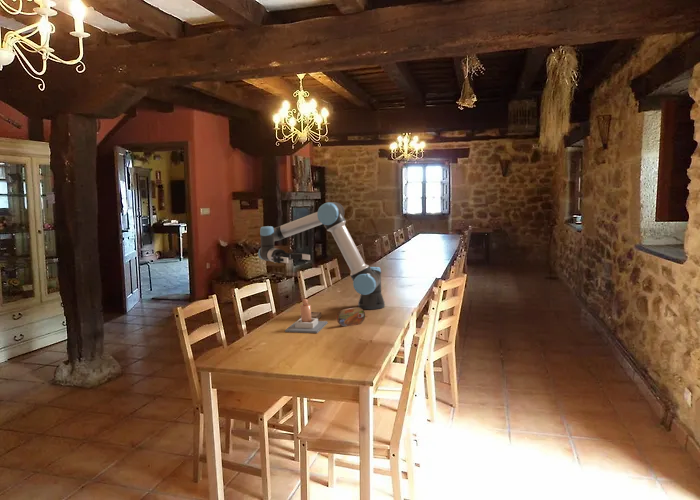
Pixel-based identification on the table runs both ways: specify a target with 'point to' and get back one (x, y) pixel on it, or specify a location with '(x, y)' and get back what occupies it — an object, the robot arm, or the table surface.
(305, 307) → the bottle
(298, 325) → the holder
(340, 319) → the tin
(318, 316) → the block
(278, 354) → the table surface
